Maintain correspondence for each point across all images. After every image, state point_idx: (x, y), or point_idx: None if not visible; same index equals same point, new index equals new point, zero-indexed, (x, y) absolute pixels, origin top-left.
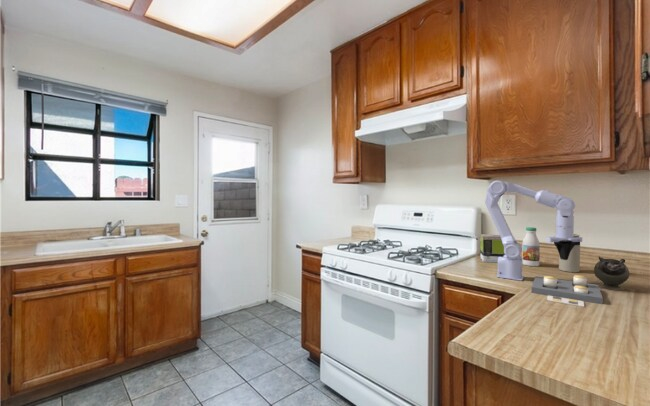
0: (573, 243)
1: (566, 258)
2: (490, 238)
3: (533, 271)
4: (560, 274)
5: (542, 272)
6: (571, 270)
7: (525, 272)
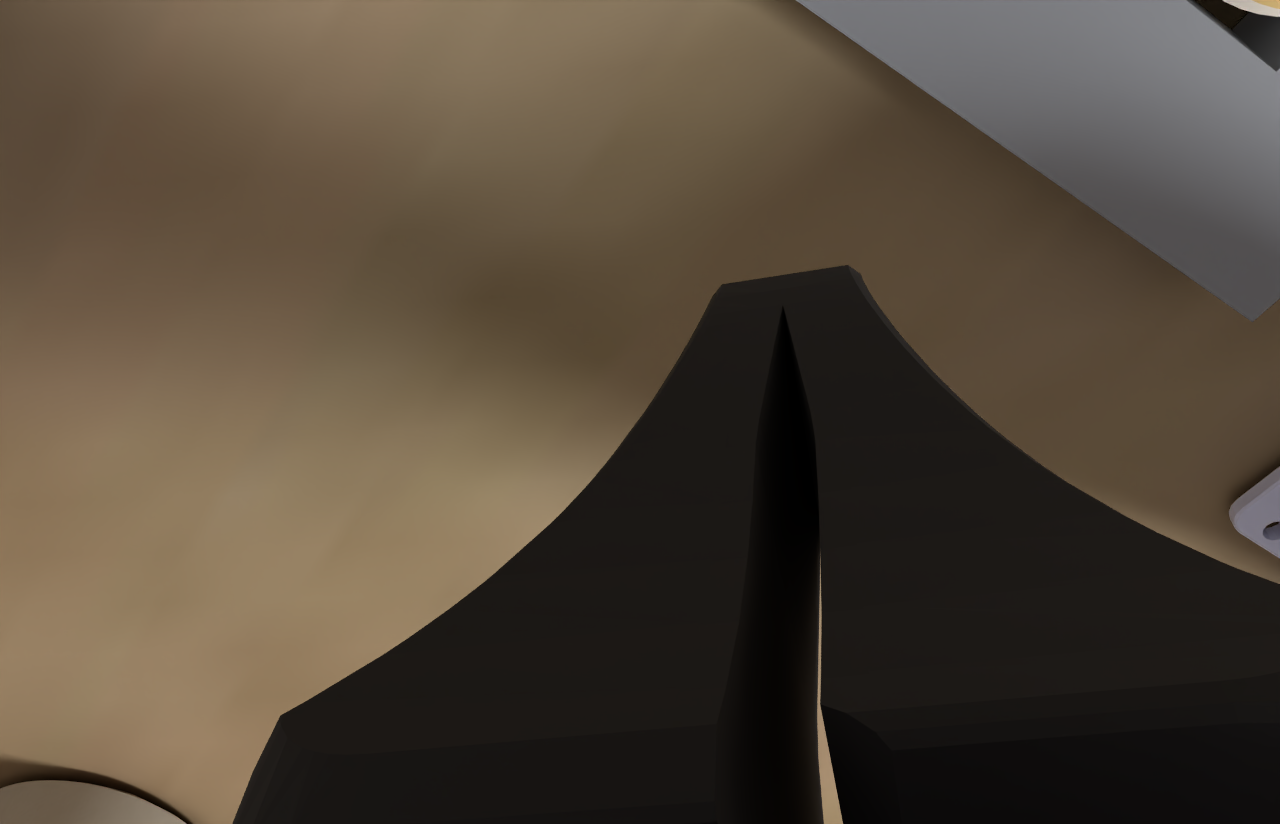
0: (424, 820)
1: (794, 286)
2: None
3: None
4: None
5: None
6: (101, 806)
7: None
